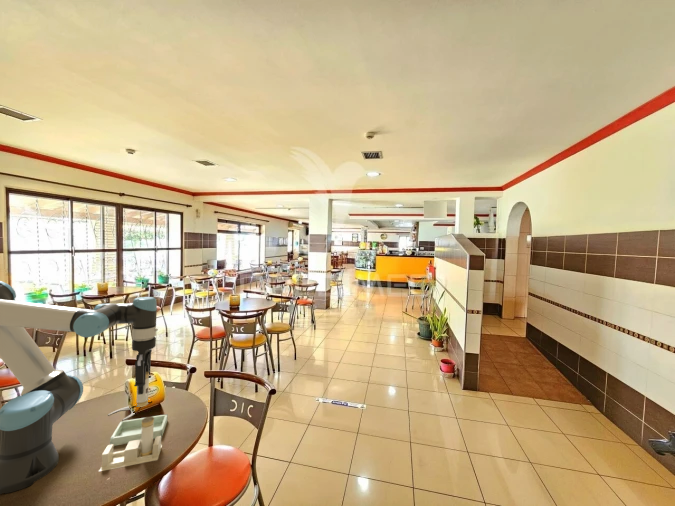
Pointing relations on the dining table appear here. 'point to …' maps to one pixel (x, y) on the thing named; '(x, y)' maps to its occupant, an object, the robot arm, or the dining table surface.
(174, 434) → the dining table surface
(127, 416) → the pliers
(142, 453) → the fuse
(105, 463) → the fuse holder
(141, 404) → the fuse
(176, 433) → the dining table surface
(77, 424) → the dining table surface
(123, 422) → the parts tray
